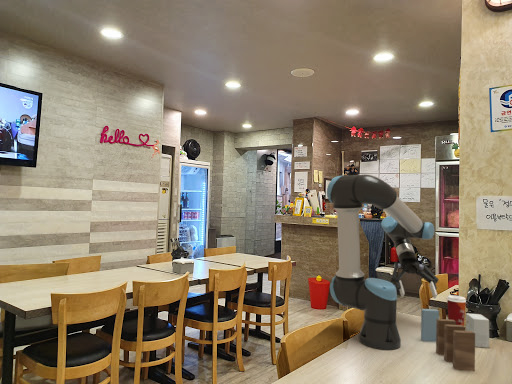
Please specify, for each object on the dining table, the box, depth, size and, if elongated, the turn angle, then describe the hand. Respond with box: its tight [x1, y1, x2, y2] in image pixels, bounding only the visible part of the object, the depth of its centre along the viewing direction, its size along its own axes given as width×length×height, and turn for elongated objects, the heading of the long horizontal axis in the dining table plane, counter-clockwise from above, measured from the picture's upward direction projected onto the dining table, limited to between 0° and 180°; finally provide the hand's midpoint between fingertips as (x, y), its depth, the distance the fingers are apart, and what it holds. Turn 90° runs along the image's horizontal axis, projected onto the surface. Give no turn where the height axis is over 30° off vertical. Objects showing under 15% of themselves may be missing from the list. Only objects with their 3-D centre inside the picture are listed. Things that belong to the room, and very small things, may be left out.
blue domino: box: [420, 308, 440, 343], centre depth 145 cm, size 2×6×12 cm, turn 88°
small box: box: [465, 312, 490, 349], centre depth 144 cm, size 8×6×10 cm
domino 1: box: [435, 318, 456, 356], centre depth 133 cm, size 2×6×12 cm, turn 89°
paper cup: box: [446, 294, 467, 327], centre depth 160 cm, size 8×8×14 cm
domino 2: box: [443, 325, 466, 363], centre depth 127 cm, size 2×6×12 cm, turn 88°
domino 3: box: [452, 330, 476, 372], centre depth 121 cm, size 2×6×12 cm, turn 89°
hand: (419, 296), depth 156 cm, fingers open, 13 cm apart
